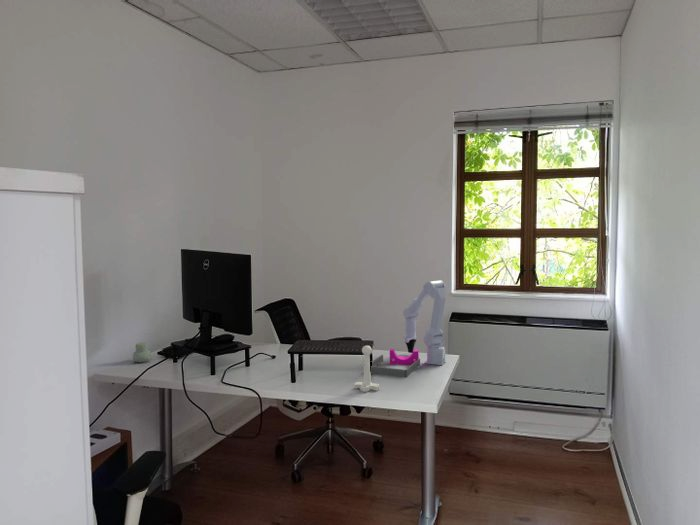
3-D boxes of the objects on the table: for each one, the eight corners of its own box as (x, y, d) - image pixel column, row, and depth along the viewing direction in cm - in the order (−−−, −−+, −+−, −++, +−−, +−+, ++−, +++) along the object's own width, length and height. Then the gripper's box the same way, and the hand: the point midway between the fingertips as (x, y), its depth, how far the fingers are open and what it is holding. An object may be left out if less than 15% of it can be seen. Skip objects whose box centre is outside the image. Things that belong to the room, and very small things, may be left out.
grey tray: (420, 365, 280) (420, 358, 280) (406, 377, 260) (406, 370, 259) (381, 361, 289) (381, 354, 289) (365, 372, 269) (365, 365, 268)
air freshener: (148, 363, 290) (147, 345, 289) (132, 364, 288) (131, 346, 287) (151, 358, 300) (150, 340, 300) (135, 359, 299) (134, 341, 298)
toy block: (418, 362, 287) (418, 348, 286) (418, 365, 281) (418, 351, 280) (390, 361, 290) (390, 347, 289) (389, 364, 283) (389, 350, 283)
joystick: (380, 388, 244) (380, 345, 242) (375, 393, 236) (375, 349, 235) (357, 386, 247) (356, 343, 246) (351, 391, 240) (351, 347, 239)
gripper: (407, 325, 307) (407, 348, 309) (399, 330, 294) (399, 354, 295) (419, 326, 304) (419, 350, 306) (411, 331, 291) (411, 356, 292)
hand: (410, 352), depth 300 cm, fingers closed
